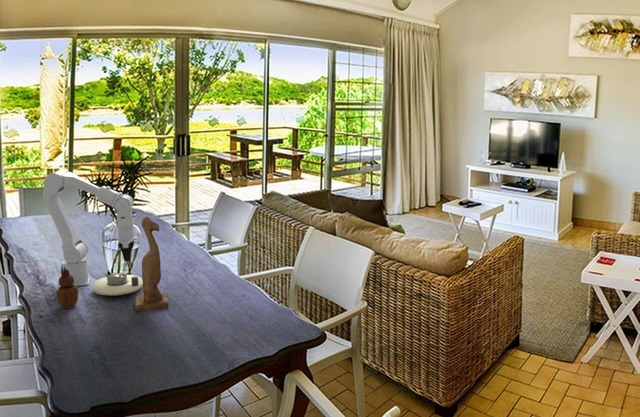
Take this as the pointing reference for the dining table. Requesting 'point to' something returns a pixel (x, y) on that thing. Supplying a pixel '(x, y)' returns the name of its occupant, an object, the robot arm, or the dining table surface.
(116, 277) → the cover
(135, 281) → the turntable
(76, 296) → the wooden figurine
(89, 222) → the dining table surface
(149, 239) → the bird sculpture
